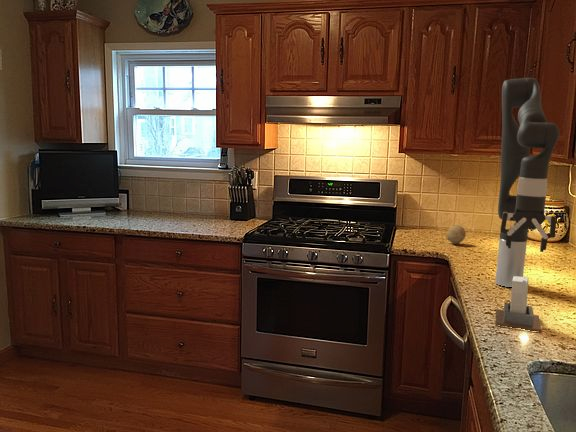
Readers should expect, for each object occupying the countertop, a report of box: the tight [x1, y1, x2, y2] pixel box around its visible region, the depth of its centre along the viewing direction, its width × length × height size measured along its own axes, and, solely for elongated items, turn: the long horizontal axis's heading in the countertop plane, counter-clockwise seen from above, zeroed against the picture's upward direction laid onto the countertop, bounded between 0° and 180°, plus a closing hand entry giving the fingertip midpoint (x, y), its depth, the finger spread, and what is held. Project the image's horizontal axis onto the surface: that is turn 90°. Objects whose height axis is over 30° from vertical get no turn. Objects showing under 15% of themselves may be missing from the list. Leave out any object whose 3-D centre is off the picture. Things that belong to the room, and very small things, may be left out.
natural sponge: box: [446, 224, 466, 245], centre depth 260 cm, size 9×9×10 cm
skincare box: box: [509, 276, 529, 314], centre depth 151 cm, size 6×4×12 cm
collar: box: [494, 302, 543, 333], centre depth 152 cm, size 13×12×4 cm
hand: (525, 249), depth 149 cm, fingers open, 8 cm apart
